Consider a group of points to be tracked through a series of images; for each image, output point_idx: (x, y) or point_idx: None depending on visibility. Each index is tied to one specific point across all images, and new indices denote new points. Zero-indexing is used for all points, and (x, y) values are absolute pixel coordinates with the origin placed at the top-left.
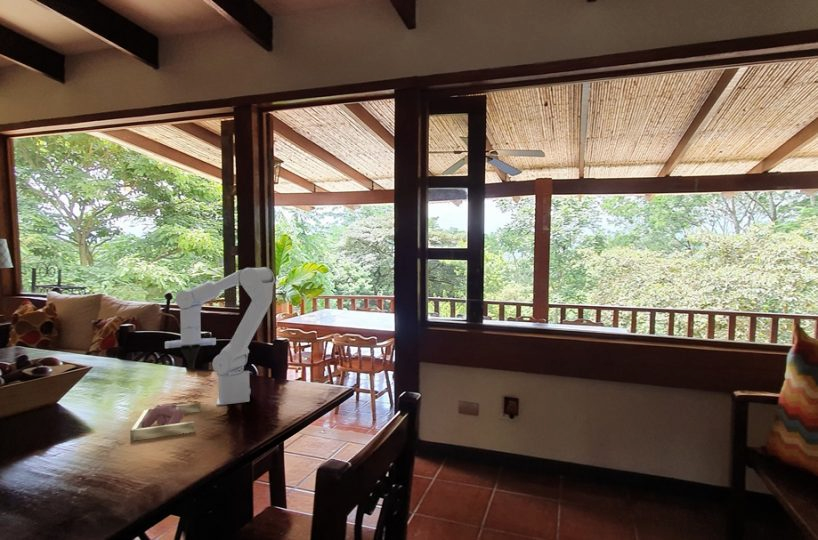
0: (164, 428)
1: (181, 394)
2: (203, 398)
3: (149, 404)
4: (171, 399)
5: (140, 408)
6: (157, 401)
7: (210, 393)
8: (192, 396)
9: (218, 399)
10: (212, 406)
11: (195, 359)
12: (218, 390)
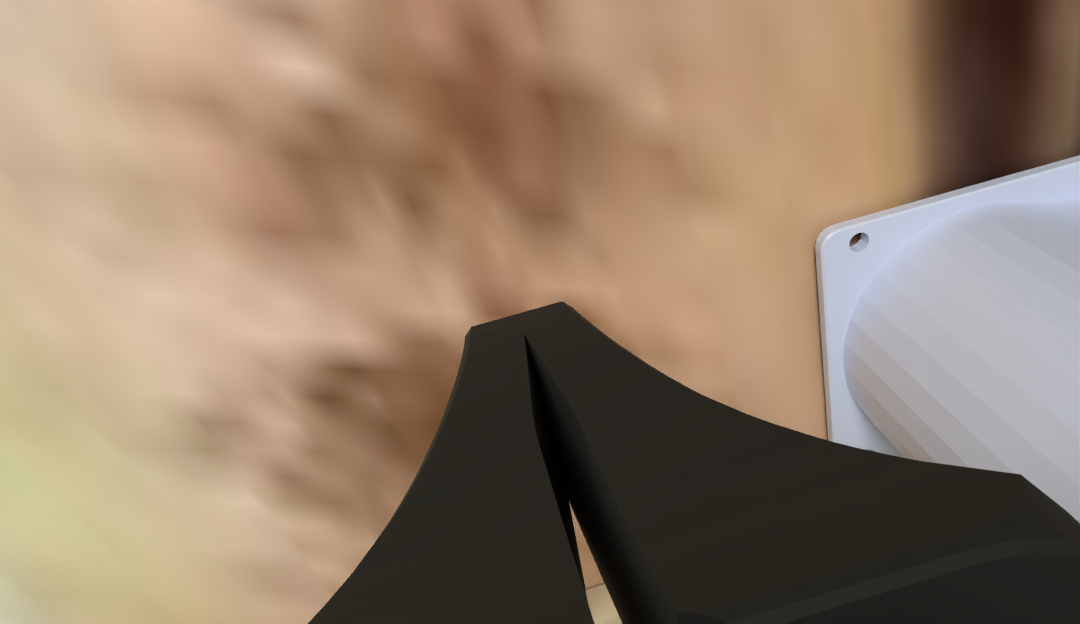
0: None
1: (244, 23)
2: (638, 232)
3: (28, 395)
4: (216, 236)
5: (15, 506)
6: (59, 298)
7: (678, 31)
8: (462, 139)
9: (841, 353)
10: None
11: (649, 369)
12: (911, 455)
